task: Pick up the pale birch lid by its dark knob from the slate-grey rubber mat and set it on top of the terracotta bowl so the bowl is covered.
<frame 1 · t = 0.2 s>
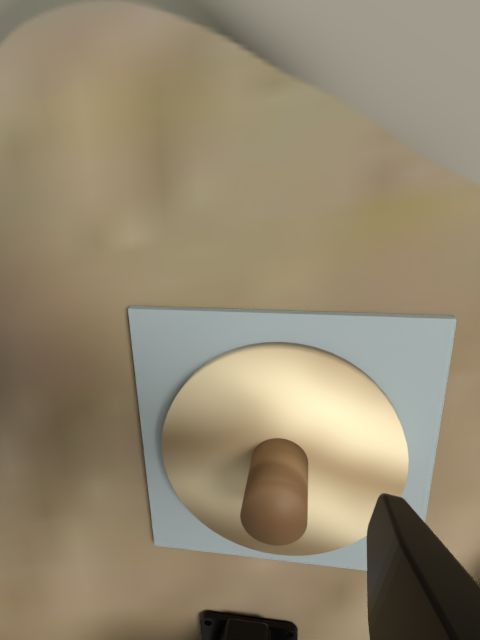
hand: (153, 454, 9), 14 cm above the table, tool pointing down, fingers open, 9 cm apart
lid: (281, 450, 24), resting on mat
mat: (281, 445, 25), on the table
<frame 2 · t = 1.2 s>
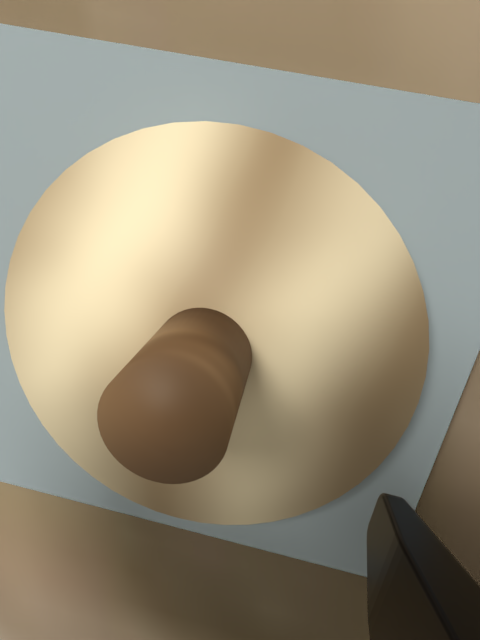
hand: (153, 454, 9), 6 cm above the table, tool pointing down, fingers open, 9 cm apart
lid: (210, 342, 14), resting on mat
mat: (213, 336, 15), on the table
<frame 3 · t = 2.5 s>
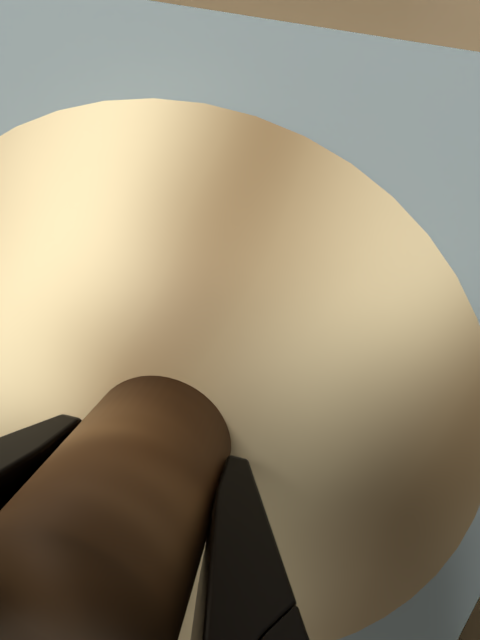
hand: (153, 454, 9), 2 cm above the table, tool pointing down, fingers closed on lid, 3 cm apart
lid: (175, 414, 10), point 1 cm above the table, touching gripper, mat
mat: (180, 403, 11), on the table
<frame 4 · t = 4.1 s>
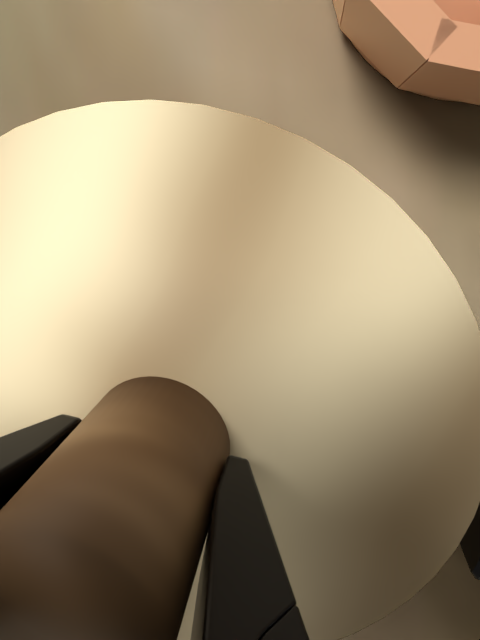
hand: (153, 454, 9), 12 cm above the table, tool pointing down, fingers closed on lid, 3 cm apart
lid: (174, 415, 10), point 10 cm above the table, touching gripper
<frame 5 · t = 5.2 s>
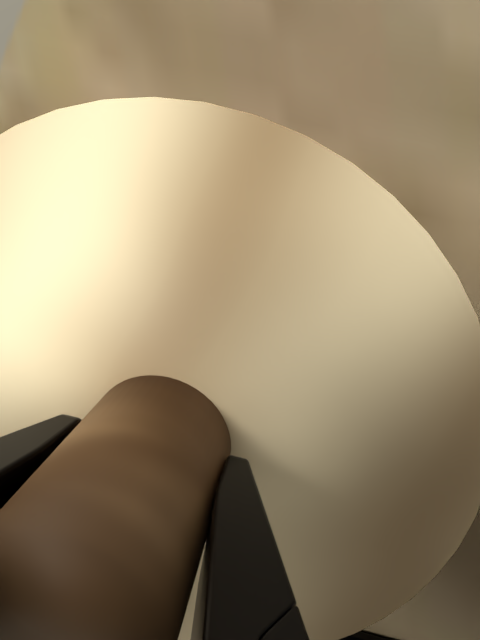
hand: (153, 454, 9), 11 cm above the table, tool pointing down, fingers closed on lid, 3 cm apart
lid: (174, 414, 10), point 10 cm above the table, touching gripper
when the fingers open (7 cm above the table, at t = 6.0 s): lid stays where it is, resting on bowl.
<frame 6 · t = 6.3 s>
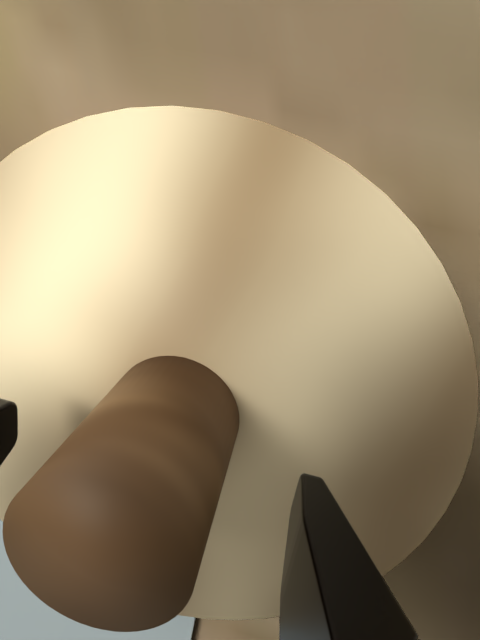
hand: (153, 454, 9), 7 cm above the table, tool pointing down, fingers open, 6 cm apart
lid: (187, 394, 11), point 5 cm above the table, touching bowl
mat: (38, 629, 23), on the table
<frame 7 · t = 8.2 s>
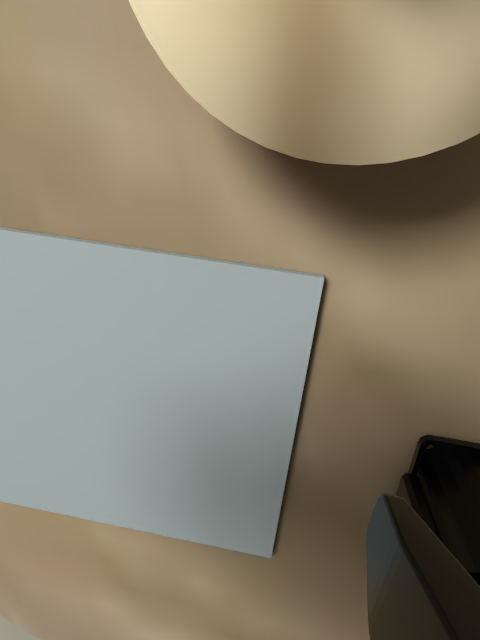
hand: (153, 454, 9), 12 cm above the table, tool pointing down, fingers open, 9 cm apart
mat: (139, 402, 23), on the table
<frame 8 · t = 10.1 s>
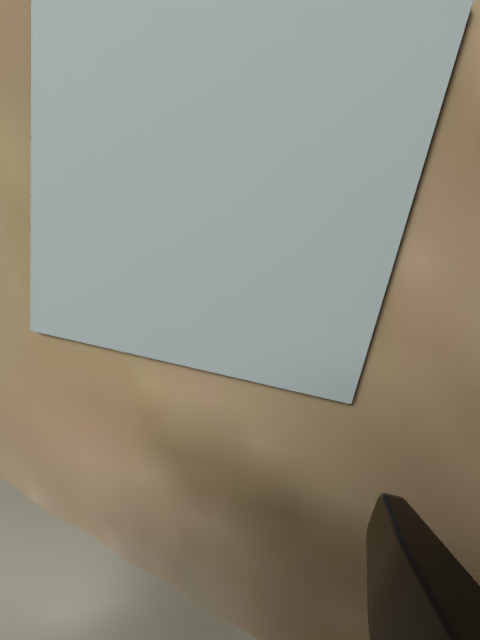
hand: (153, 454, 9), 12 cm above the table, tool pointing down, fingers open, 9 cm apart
mat: (212, 195, 19), on the table
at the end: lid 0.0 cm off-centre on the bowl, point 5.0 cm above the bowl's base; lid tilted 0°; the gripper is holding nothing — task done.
